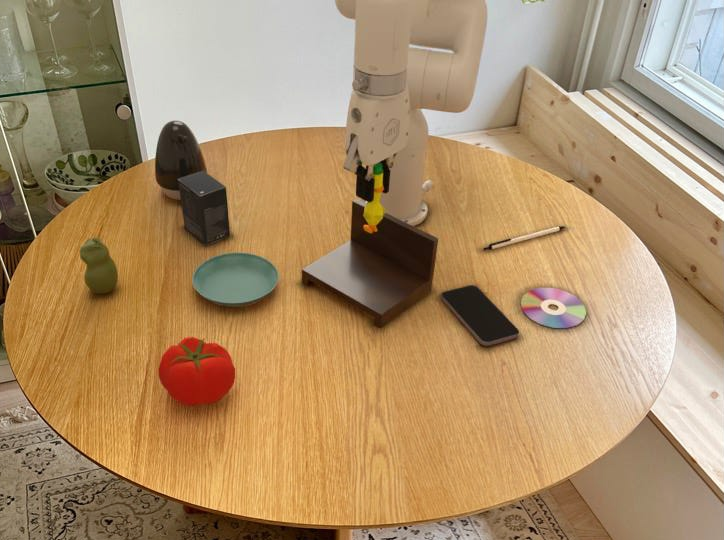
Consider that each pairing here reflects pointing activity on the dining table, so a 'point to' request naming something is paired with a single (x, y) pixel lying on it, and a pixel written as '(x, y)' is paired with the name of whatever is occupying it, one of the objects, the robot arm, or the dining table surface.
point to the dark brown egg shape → (176, 157)
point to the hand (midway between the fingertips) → (372, 193)
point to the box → (204, 207)
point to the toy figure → (375, 201)
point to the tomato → (196, 372)
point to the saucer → (235, 279)
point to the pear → (98, 266)
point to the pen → (523, 238)
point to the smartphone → (479, 315)
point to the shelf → (378, 267)
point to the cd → (564, 317)
